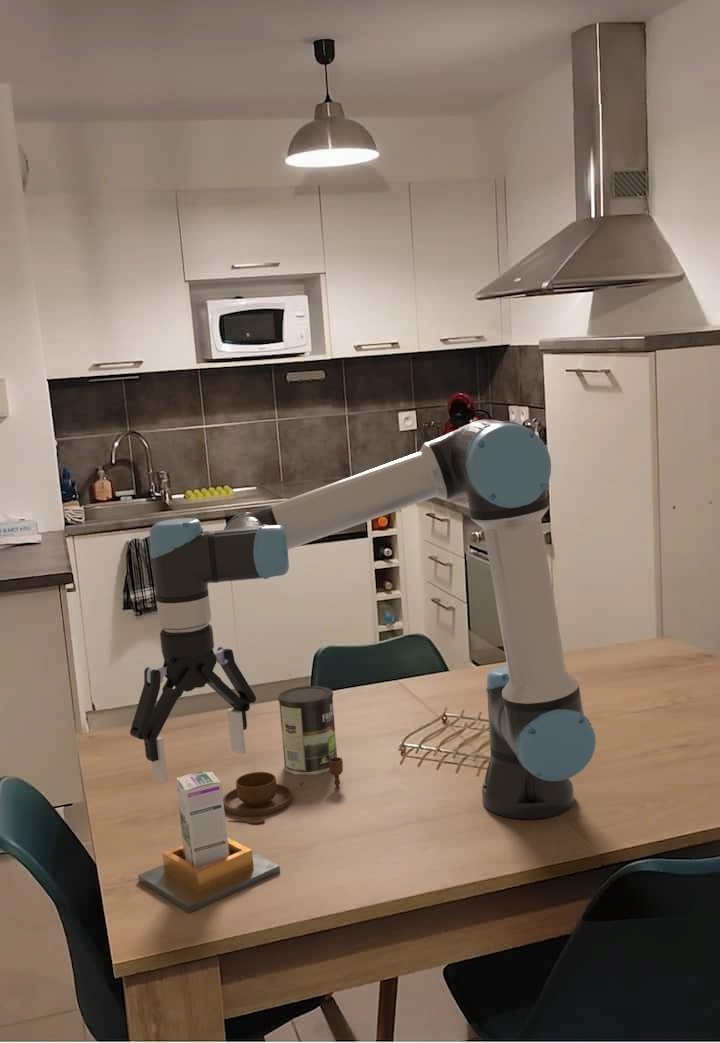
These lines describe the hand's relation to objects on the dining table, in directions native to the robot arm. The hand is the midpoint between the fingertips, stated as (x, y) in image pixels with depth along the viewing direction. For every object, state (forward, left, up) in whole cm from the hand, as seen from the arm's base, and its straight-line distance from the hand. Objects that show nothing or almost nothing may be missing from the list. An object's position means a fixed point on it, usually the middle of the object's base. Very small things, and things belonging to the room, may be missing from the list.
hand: (200, 766), depth 157 cm
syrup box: (0, 0, -17) cm, 17 cm away
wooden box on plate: (0, 0, -17) cm, 17 cm away
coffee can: (+23, -38, -18) cm, 48 cm away
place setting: (+14, -23, -18) cm, 33 cm away
